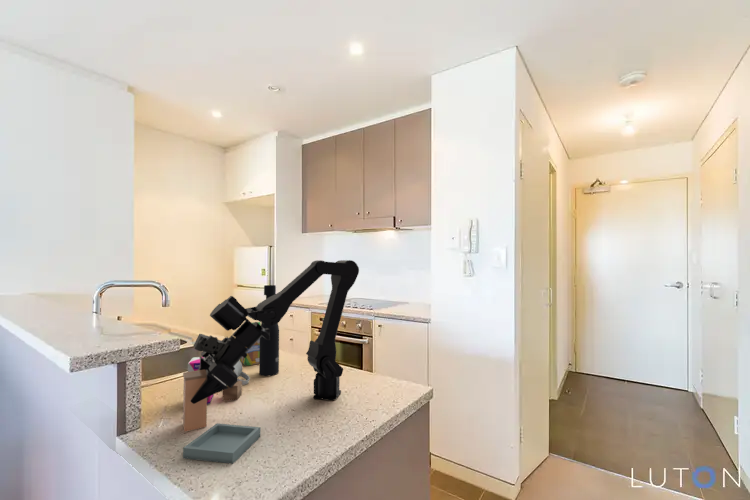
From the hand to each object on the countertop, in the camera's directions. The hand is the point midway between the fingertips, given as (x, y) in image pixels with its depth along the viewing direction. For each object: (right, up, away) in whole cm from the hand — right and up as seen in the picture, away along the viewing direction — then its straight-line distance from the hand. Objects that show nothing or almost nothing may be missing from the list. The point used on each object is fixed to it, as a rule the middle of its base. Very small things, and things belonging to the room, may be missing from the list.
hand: (190, 395), depth 82 cm
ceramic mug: (-2, -8, +29) cm, 30 cm away
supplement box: (-5, -8, +15) cm, 17 cm away
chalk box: (-3, -9, +53) cm, 54 cm away
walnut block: (+3, -8, +17) cm, 19 cm away
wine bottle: (+7, -8, +39) cm, 40 cm away
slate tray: (+12, -7, -9) cm, 16 cm away
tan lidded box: (+1, -7, 0) cm, 7 cm away
